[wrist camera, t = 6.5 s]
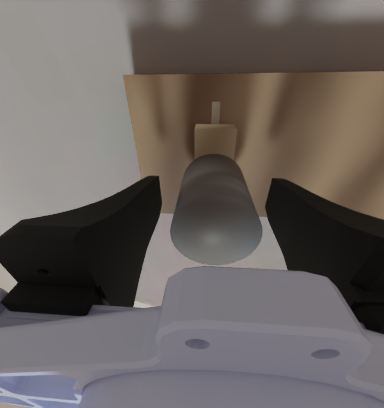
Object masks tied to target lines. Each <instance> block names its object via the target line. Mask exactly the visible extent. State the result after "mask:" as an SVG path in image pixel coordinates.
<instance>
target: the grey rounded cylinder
mask: <svg viewBox="0 0 384 408" xmlns="http://www.w3.org/2000/svg"><path fill="white" fill-rule="evenodd" d="M236 137H237V128H236V126H235V125H234V124H196V125H195V160H194V161H193V162H191V163H190V164H189V166H188V167H187V168H186V170H185V172H184V175H183V179H182V184H181V188H180V192H179V196H178V200H177V204H176V208H175V212H174V216H173V220H172V224H171V229H170V234H171V239H172V242H173V244H174V246H175V247H176V248H177V250H178V251H179V252H180V253H181V254H183V255H184V256H185V257H187V258H189V259H191V260H193V261H195V262H198V263H202V264H207V265H225V264H230V263H234V262H237V261H239V260H241V259H243V258H245V257H247V256H248V255H250V254H251V253H252V252H253V251H254V250H255V249H256V247H257V246H258V244H259V243H260V240H261V237H262V225H261V222H260V219H259V216H258V214H257V211H256V208H255V206H254V203H253V200H252V198H251V195H250V192H249V190H248V187H247V184H246V181H245V179H244V176H243V173H242V171H241V169H240V167H239V165H238V164H237V163H236V162H235V161H234V153H235V145H236Z"/></svg>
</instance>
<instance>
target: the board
mask: <svg viewBox="0 0 384 408" xmlns="http://www.w3.org/2000/svg"><path fill="white" fill-rule="evenodd" d="M123 78H124V83H125V89H126V94H127V100H128V105H129V111H130V116H131V122H132V128H133V133H134V139H135V144H136V150H137V155H138V161H139V167H140V172H141V178H142V179H143V178H145V177H147V176H159V180H160V189H161V197H162V207H161V212H160V213H174V212H175V208H176V204H177V200H178V196H179V192H180V188H181V184H182V179H183V175H184V172H185V170H186V168H187V167H188V166H189V164H190V163H191V162H193V161H194V160H195V125H196V124H234V125H235V126H236V128H237V137H236V145H235V153H234V161H235V162H236V163H237V164H238V165H239V167H240V169H241V171H242V173H243V176H244V179H245V181H246V184H247V187H248V190H249V192H250V195H251V198H252V200H253V203H254V206H255V208H256V211H257V214H258V216H264V217H267V214H266V210H265V204H266V200H267V196H268V192H269V189H270V185H271V181H272V178H283V179H286V180H289V181H291V182H293V183H295V184H297V185H299V186H301V187H302V188H304V189H306V190H308V191H310V192H312V193H314V194H316V195H318V196H320V197H322V198H325V199H327V200H329V201H331V202H334V203H336V204H338V205H341V206H344V207H346V208H349V209H352V210H354V211H357V212H360V213H363V214H367V215H370V216H373V217H376V218H380V219H383V220H384V71H366V72H295V73H225V74H154V75H123Z"/></svg>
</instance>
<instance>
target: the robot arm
mask: <svg viewBox="0 0 384 408" xmlns="http://www.w3.org/2000/svg"><path fill="white" fill-rule="evenodd" d="M161 207H162V197H161V189H160V180H159V176H147V177H145V178H143V179H141V180H140V181H138V182H136V183H135V184H133V185H131V186H129V187H128V188H126V189H124V190H122V191H120V192H118V193H116V194H114V195H112V196H110V197H108V198H106V199H103V200H101V201H98V202H96V203H93V204H89V205H86V206H83V207H80V208H77V209H73V210H70V211H66V212H62V213H57V214H53V215H48V216H42V217H37V218H31V219H25V220H21V221H20V222H18V223H17V224H16V225H14V226H13V227H12V228H10V229H9V230H8V231H6V232H5V233H4V234H2V235H1V236H0V263H1V264H2V265H3V267H4V268H6V270H7V271H8V272H9V273H10V274H11V275H12V276H13V278H14V279H15V280H16V281H17V282H18V283H17V285H16V286H15V287H14V288H13V289H12V290H11V291H10V292H9V293H7V292H6V291H5V290H4V289H1V288H0V403H5V404H12V405H18V406H24V407H31V408H384V220H383V219H380V218H376V217H373V216H370V215H367V214H363V213H360V212H357V211H354V210H352V209H349V208H346V207H344V206H341V205H338V204H336V203H334V202H331V201H329V200H327V199H325V198H322V197H320V196H318V195H316V194H314V193H312V192H310V191H308V190H306V189H304V188H302V187H301V186H299V185H297V184H295V183H293V182H291V181H289V180H286V179H283V178H272V181H271V185H270V189H269V192H268V196H267V200H266V204H265V210H266V214H267V218H268V221H269V223H270V226H271V228H272V230H273V232H274V235H275V237H276V239H277V241H278V244H279V246H280V248H281V251H282V253H283V256H284V259H285V262H286V266H287V269H288V270H271V269H251V268H232V267H213V266H201V267H193V268H185V269H183V270H181V271H180V272H178V273H176V274H175V275H173V276H171V277H170V278H168V281H167V285H166V288H165V292H164V297H163V302H162V306H157V307H149V308H135V307H133V305H134V301H135V296H136V291H137V287H138V282H139V278H140V274H141V270H142V265H143V262H144V258H145V254H146V250H147V247H148V244H149V242H150V239H151V237H152V234H153V232H154V229H155V227H156V224H157V221H158V219H159V216H160V212H161Z"/></svg>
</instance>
